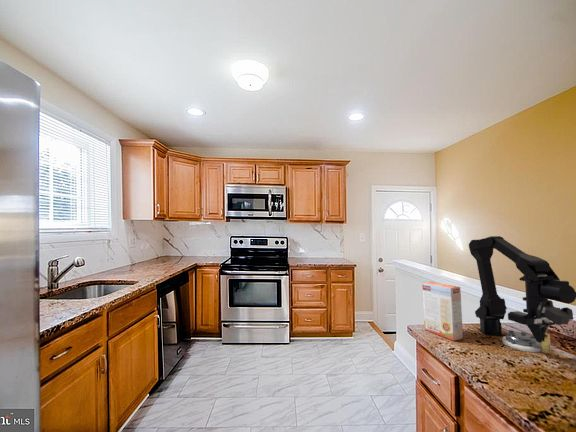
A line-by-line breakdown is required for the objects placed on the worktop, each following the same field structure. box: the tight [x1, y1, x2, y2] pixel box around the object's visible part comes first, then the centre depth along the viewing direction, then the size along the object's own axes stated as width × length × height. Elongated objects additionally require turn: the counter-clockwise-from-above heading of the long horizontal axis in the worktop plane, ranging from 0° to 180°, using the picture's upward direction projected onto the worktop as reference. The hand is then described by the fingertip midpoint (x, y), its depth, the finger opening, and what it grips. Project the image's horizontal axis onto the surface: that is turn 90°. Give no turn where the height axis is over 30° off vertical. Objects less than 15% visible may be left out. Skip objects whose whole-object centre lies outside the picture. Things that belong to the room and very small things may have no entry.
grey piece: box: [505, 329, 552, 354], centre depth 99 cm, size 15×9×6 cm, turn 6°
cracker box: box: [422, 281, 464, 342], centre depth 115 cm, size 14×6×21 cm, turn 22°
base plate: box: [501, 335, 542, 353], centre depth 102 cm, size 11×11×2 cm
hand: (539, 342), depth 93 cm, fingers closed
